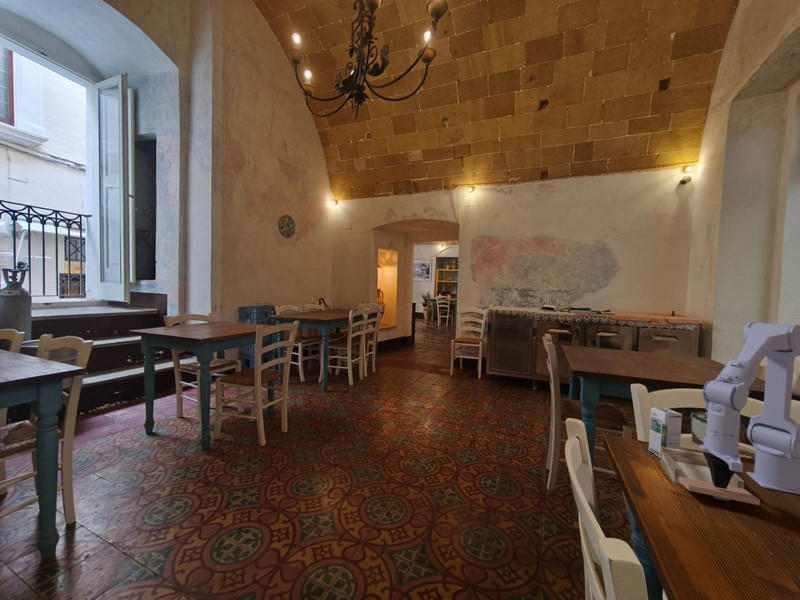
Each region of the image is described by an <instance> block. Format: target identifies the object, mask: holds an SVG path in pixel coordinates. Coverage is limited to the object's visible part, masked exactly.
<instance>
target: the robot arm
mask: <svg viewBox="0 0 800 600" xmlns="http://www.w3.org/2000/svg"><path fill="white" fill-rule="evenodd" d="M743 339H744V340H743V341H744V342H745V343H744V345H743V347H742V349H741V350H740V353H739V354H738V356H737V359H733V360H729V361H728V362H727V363H726V364H725V366H724V367H723V369H722V370H721V371H720V373H719V374H718V375H717V377H716V378H715V379H712V380H709V381H707V382H705V384H704V386H703V390H702V398H703V401H704V407H705V409H706V410H707V414H706V415H707V432H706V437H704V442H703V444H704V445H700V447H699V448H700V449H701V450H702V451H705V452H703V453H702V454H703V455H704V457H705V458H706V460H707V463H708V465H709V469H710V473H711V478H712V482H713V485H714V486H715V487H718V488H723V489H727V487H728V484H729V482H730V480H731V478H732V476H733V474H734V473H736V472H738V473H743V472H744V471H743V469H744V463H742V461H741V456H740V455H741V454H740V452H739V449H740V448H739V447H740V444H739V443H740V430H741V429H740V427H741V412H742V411H741V410H743V409H744V408H745V407H746V405H747V402H748V398H749V394H750V390H749V388H750V387H751V385H753V382H754V381H755V380H756V378H757V377H758V375H759V371H758V370H759V369H757V368H756V367H757V366H759V364H761V362H762V361H763V360H764V359H765V358H766V367H765V384H764V399H763V412H762V413H760V414H755V415H753V416H752V417H750V419H749V424H748V426H747V430H746V436H747V439H748V441H749V442H750V443H751V444H752V447H753V448H755V451H754V452H755V453H754V454H755V455H754V469H753V471H754V472H751V471H746V474H747V475H748V476H749V477H750V478H751V479H752V480H754V481H755V482H756V483H757V484H758V485H759V486H760V487H762V488H763V489H764V488H765V489H770V490H775V491H780V492H781V491H782V492H787V493H790V494H791V493H792V494H797V495H800V423H798V422H797V421H795V420H794V419H793V418H792V417H791V408H792V395H793V381H794V371H795V370H794V368H795V360H796V357H800V324H785V323H784V324H782V323H770V322H767V323H766V322H757V321H749V322H748V323H747V324H745V326H744V329H743ZM707 451H708V452H710V453H708V452H707Z"/></svg>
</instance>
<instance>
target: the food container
mask: <svg viewBox="0 0 800 600" xmlns="http://www.w3.org/2000/svg"><path fill="white" fill-rule="evenodd" d="M690 419H691V443H693V444H694V445H696V446H697V447H699V448H700V445H704V444H703V442H704V437H706V432H707V414H705V413H701V412H700V413H699V412H692V411H691V413H690ZM706 453H708V451H706Z"/></svg>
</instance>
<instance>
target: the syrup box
mask: <svg viewBox="0 0 800 600" xmlns="http://www.w3.org/2000/svg"><path fill="white" fill-rule="evenodd" d="M649 419H650V422H649V436H648V437H649V438H648V439H649V441H648V450H649V451H651V452H652V453H654V454H655V455H656V457H657V456H658V458H659V459H660V458H661V447H667V448H673V449H678V450H681V438H682V435H681V434H682V421H683V414H682V413H680V412H676V411H675V410H672V409H669V408H667V407H660V406H658V407H657V406H655V407H651V408H650V418H649ZM649 451H648V452H649ZM652 453H651V454H652ZM654 454H653V455H654ZM655 455H654V456H655Z"/></svg>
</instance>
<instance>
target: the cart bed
mask: <svg viewBox="0 0 800 600" xmlns="http://www.w3.org/2000/svg"><path fill="white" fill-rule="evenodd" d="M660 465H661V466H662V468H663V469H664V470H665V472H666V474H667V475H668V476H669V478H670V479H671V480H672V482H673V483H674V484H675V485H681V486H683V485H682V484H681V483H680V482H679V481H678V476H681V477H686V478H691V479H696V480H701V481H707V482H712V478H711V473H710V469H709V465H708V463H707V460H706V458H705V457H704V455H703V453H701V452H694V451H689V450H683V449H680V450H678V449H673V448H667V447H661V459H660ZM712 483H713V482H712ZM728 486H732V487H737V488H742V489H745V481H744V480H743V479H742V478H741V477H740V476H739V475H738V474H737V473H736V472H735V473H734V474H733V476H732V478H731V480H730V482H729V484H728Z"/></svg>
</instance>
